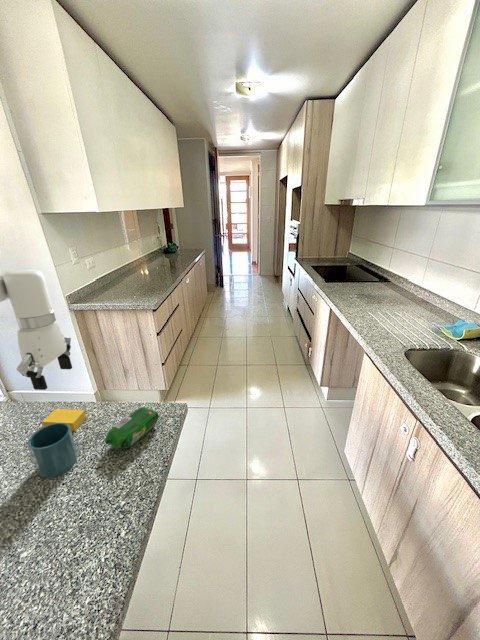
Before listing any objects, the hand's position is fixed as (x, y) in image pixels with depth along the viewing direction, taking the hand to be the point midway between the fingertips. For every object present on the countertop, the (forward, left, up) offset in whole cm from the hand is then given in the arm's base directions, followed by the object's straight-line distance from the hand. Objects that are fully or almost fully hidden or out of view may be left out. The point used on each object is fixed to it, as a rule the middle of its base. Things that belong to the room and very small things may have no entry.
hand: (54, 378), depth 71 cm
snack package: (+22, -3, -16) cm, 27 cm away
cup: (+7, -13, -16) cm, 22 cm away
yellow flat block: (0, 0, -16) cm, 16 cm away
